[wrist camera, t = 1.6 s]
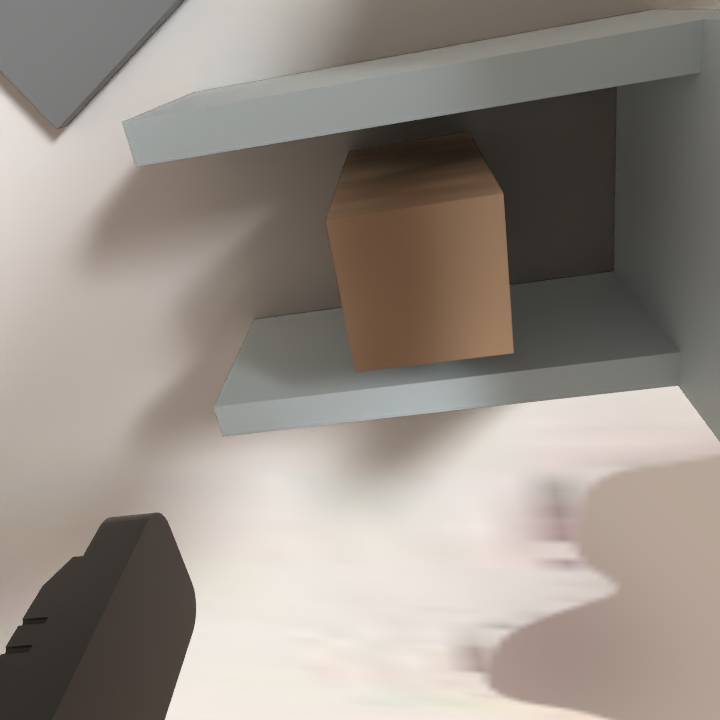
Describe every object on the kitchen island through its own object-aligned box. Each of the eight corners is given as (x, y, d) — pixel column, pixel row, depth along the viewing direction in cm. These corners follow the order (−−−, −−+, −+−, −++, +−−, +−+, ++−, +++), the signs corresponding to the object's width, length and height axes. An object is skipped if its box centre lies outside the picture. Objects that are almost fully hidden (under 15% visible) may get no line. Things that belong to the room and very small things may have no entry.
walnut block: (468, 131, 24) (503, 193, 16) (478, 248, 26) (513, 353, 18) (348, 151, 25) (325, 220, 17) (367, 263, 27) (354, 372, 19)
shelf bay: (655, 9, 22) (989, 11, 9) (643, 294, 27) (855, 541, 14) (193, 92, 24) (-26, 183, 11) (260, 344, 29) (156, 598, 16)
